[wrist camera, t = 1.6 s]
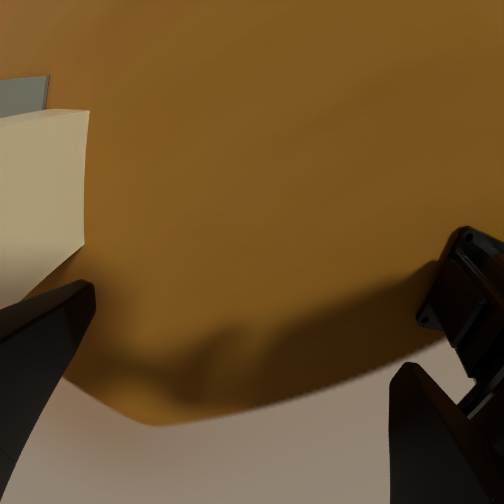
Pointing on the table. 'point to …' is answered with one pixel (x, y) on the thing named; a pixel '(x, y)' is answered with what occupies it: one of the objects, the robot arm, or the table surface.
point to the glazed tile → (39, 196)
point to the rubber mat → (23, 95)
